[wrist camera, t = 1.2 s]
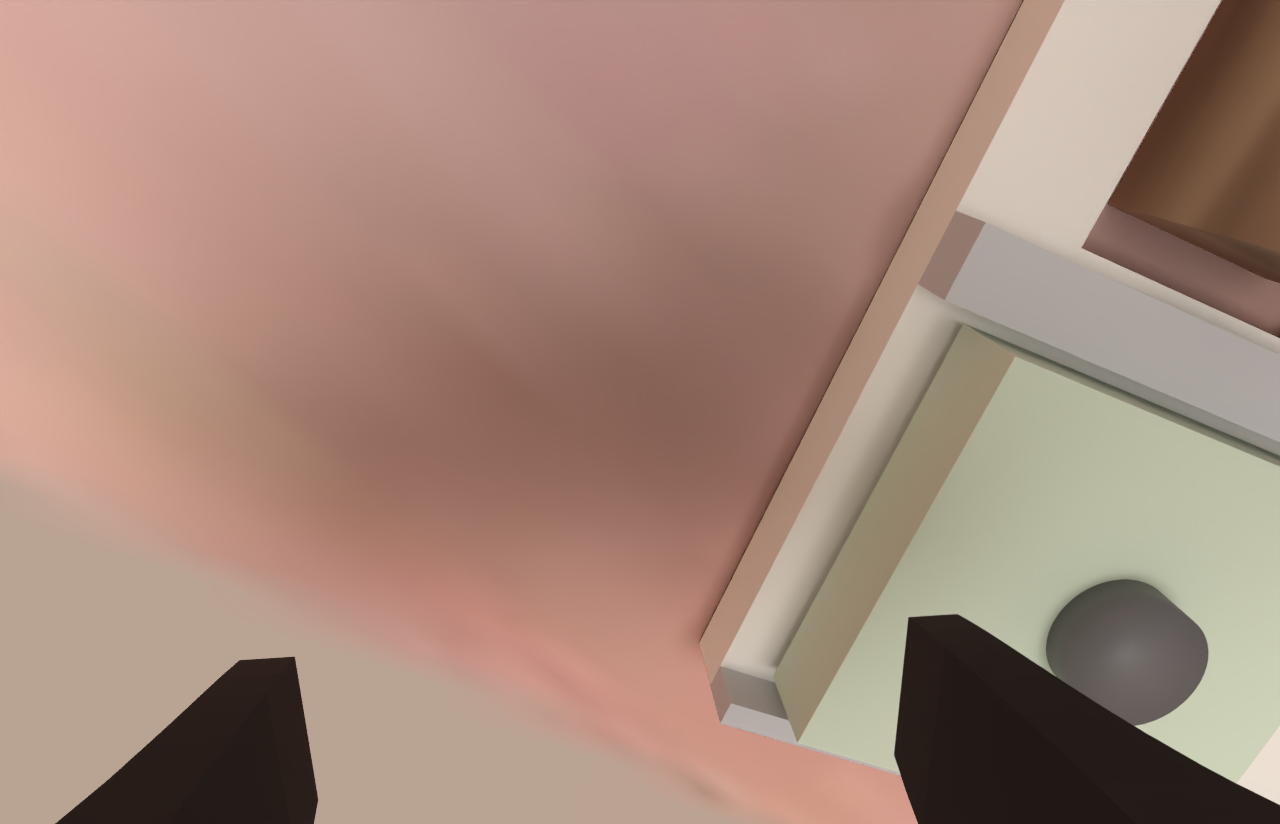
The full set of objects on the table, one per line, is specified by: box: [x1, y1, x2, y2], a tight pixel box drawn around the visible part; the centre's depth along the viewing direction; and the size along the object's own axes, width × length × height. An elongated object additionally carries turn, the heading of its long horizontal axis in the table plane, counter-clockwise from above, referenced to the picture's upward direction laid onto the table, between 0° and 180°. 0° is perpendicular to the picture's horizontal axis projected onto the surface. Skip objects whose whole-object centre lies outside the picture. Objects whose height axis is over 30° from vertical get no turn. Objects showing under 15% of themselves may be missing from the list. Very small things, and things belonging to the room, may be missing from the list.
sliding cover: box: [773, 324, 1280, 783], centre depth 18 cm, size 9×8×3 cm
